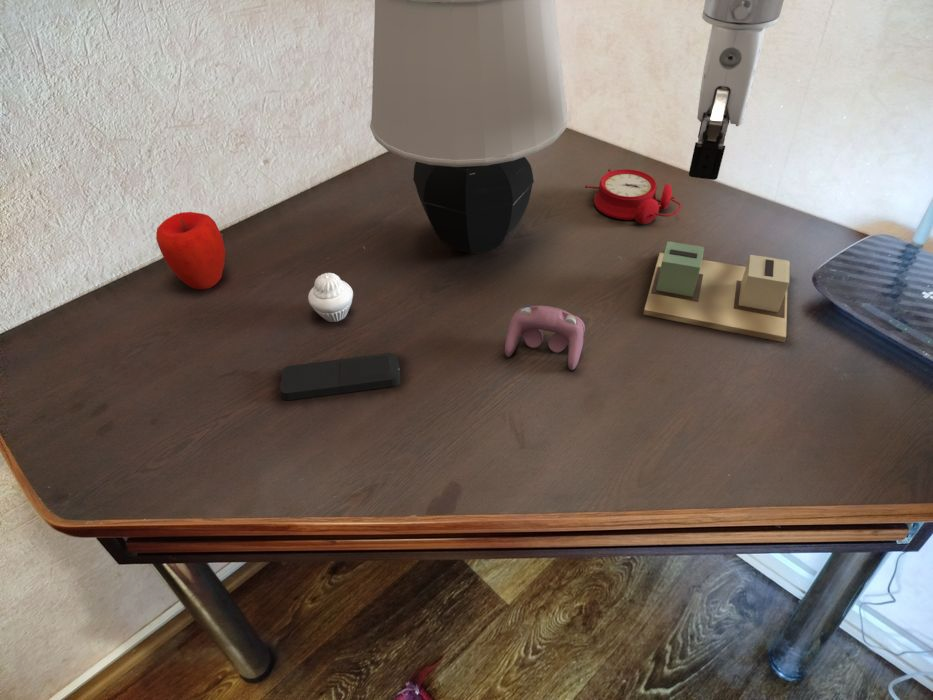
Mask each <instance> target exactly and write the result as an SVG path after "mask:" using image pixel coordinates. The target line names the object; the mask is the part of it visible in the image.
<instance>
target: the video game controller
mask: <svg viewBox="0 0 933 700" xmlns="http://www.w3.org/2000/svg"><path fill="white" fill-rule="evenodd" d="M542 331H547V332H550V333H553V334H552V335H551V336H550V338H549V339H548V343H547V346H548V349H550V351H552V352H553V353H561V352H562V351H564V350H565V349H566V347H567V346H568V354H567V366H568V369H569V370H571V371H572V370H574V369H576V368H577V366H578V364H579V361H580V359H581V354H582V350H583V346H584V337H585V331H586V325H585V323H584V321H583V320H582V319H581V318H580V317H579V316H577V315H574V314H572V313H570V312H569V311H567V310H564V309H562V308H558V307H553V306H549V305H527V306H522V307H520V308H518V309H517V311H516V312H514V314H513V315H512V317H511V319H510V321H509V324H508V327H507V332H506V336H505V343H504V354H505V356H506V357H507V358H510V357H512V355H513V354H514V353H515V351H516V349H517V347H518V344H519V342H520V340H521V337H522V336H523V339H524V342H525V344H526V345H527V346H528V347H530V348H537V347H539V346H541V345H542V343H543V341H544V334H543V332H542Z"/></svg>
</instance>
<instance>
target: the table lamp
mask: <svg viewBox="0 0 933 700" xmlns="http://www.w3.org/2000/svg"><path fill="white" fill-rule="evenodd" d="M373 19H374V21H373V23H374V25H373V50H372V51H373V52H372V91H371V92H372V95H371V97H372V98H371V117H370V119H371V120H370V124H369V128H370V131H371V133H372V135H373V137H374V140H375V141H376V142H377V143H378V144H379V145H381V146H382V147H383V148H384V149H385V150H386V151H387V152H390V153H391V154H394V155H396V156H398V157H401V158H402V159H405V160H409V161H413V162H415V163H414V166H413V179H412V181H413V182H414V185H415V188H416V189H415V190H416V193H417V195H418V198H419V202H420V203H421V206H422V208H423V211H424V212H425V214H426V216H427V218H428V221H429V223H430V225H431V228H432V230H433V231H434V233H435V235H436V236H437V237H438V239H439V240H440V242H442V243H444V244H445V245H446V246H448V247H450V248H451V249H454V250H457V251H460V252H463V253H466V254H471V255H476V254H481V253H487V252H490V251H493V250H495V249H496V248H498V247H499V246H500V245H501V244H502V243H503V242H504V241H505V240H506V238H508V236H509V235H510V234H511V233H512V231H514V229H516V227H517V226H518V225H519V223H520V222H521V220H522V218H523V216H524V214H525V212H526V209H527V207H528V205H529V202H530V198H531V195H532V189H533V184H534V183H535V180H534V173H533V168H532V165H531V163H530V162H529V160H528V159H527V158H526V157H528V156H531V155H534V154H537V153H538V152H541V151H542V150H543V149H546V148H547V147H549V146H551V145H553V144H554V143H555V142H556V141H557V140H558V139H559V138H560V137H561V136H562V134H563V133H564V132H565V130H566V129H567V126H568V123H569V119H570V114H569V111H568V104H567V97H566V89H565V80H564V79H565V78H564V70H563V60H562V59H563V58H562V52H561V41H560V34H559V24H558V16H557V9H556V0H374V18H373Z"/></svg>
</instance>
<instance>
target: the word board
mask: <svg viewBox="0 0 933 700" xmlns="http://www.w3.org/2000/svg"><path fill="white" fill-rule="evenodd" d="M663 256H664V252H659V253H658V257H657V259H656V264H655V268H654V272H653V276H652V279H651V283H650V287H649V289H648V294H647V298H646V302H645V305H644V309H643V316H647V317H652V318H658V319H663V320H667V321H672V322H677V323H681V324H682V323H684V324H688V325H693V326H698V327H704V328H709V329H713V330H718V331H724V332H729V333H735V334H739V335H744V336H749V337H754V338H758V339H759V338H760V339H765V340H770V341H775V342H780V343H785V341H786V337H787V322H788V321H787V318H788V317H787V316H788V315H787V314H788V289H787V290H786V293H785V295H784V298H783V301H782V303H781V306H780V308H779V311H778V312H773V311H767V310H762V309H757V308H751V307H746V306H740V305H739V296H740V287H741V281H742V278H743V275H744V272H745V269H746V266H744V265H743V266H742V265H737V264H732V263H725V262H719V261H713V260H708V259H702V262H701V268H700V272H699V275H698V279H697V283H696V287H695V291H694V295H693V297H691V296H685V295H680V294H674V293H669V292H664V291H658V290H656V288H657V283H658V279H659V274H660V269H661V264H662V260H663Z"/></svg>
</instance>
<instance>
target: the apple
mask: <svg viewBox="0 0 933 700" xmlns="http://www.w3.org/2000/svg"><path fill="white" fill-rule="evenodd" d="M155 233H156V234H155V235H156V236H155V239H156V242H157V246H158V248H159V251H160V253H161V255H162V257H163V260H164V261H165V263H166V264H167V266H168V267H169V268H170V270H171V271H172V272H173V274H174V275H175V276H176V277H177V278H178V279H180V280H181V282H183V283H184V284H186V285H187V286H188V287H190V288H192V289H195V290H207V289H210V288H212V287H214V286H215V285H217V284H218V283H219V281H221V279H222V275H223V271H224V267H225V263H226V262H225V261H226V247H225V243H224V238H223V236H222V233H221V231H220V229H219V227H218V225H217V223H216V221H215V220H214V219H213V218H212V217H211V216H210V215H209V214H205V213H201V212H194V211H184V212H182V211H181V212H179V213H175V214H173V215H171V216H170V217H168V218H166V219H165V220H163V222H161V223H160V225H159V226H158V227H156V232H155Z"/></svg>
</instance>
